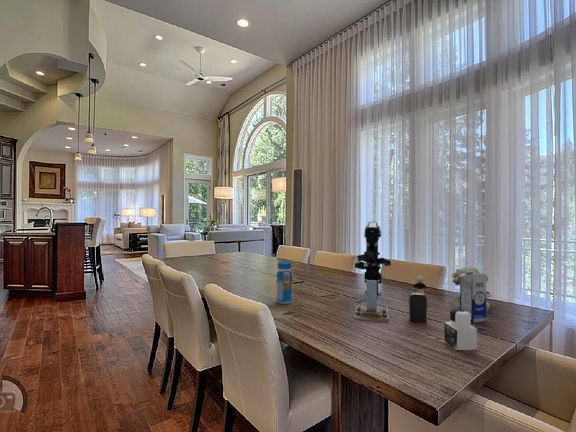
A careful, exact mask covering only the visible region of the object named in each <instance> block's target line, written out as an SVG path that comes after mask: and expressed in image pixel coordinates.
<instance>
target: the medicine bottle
mask: <svg viewBox="0 0 576 432" xmlns="http://www.w3.org/2000/svg"><path fill="white" fill-rule="evenodd" d="M449 315H450V316H449V317H450V318H449V321H444V329H443V330H444V334H443V335H444V340H443V341H444V343H445V342H446V343H445V344H446V345H448V346H449V345H450V347H451V348H452V347H453V348H452V349H453V350H455V351H456V350H463V351H477V350H476V349H478V328H476V327H475V326H473V325H471V324H472V323H471V314H470V313H469V312H468V311H466V310H462V309H460V308H454V309H451V310H450V312H449Z"/></svg>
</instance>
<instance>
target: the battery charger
mask: <svg viewBox="0 0 576 432" xmlns="http://www.w3.org/2000/svg"><path fill="white" fill-rule="evenodd" d="M424 294H425V293H424ZM424 294H422V293H416V292H411V293H410V294H408V311H409V315H408V316H409V317H408V319H409V322H413V323H414V322H417V323H427V322H428V321H427V318H428V316H427V311H428V298H427V296H426V294H425V295H424Z"/></svg>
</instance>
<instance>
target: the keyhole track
mask: <svg viewBox="0 0 576 432" xmlns="http://www.w3.org/2000/svg"><path fill="white" fill-rule="evenodd" d="M355 306H356V307H355V310H354V315H353V319H354V320H363V321H373V322H385V323H390V319H389V310H388V307H383V306H377V312H372V311H366V305H358V304H357V305H355Z"/></svg>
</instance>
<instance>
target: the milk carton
mask: <svg viewBox="0 0 576 432" xmlns="http://www.w3.org/2000/svg"><path fill="white" fill-rule="evenodd" d="M486 275H487V273H482V274H473V272H467V273H466V275H463V276H460V285H459V297H460V308H459V309H462V310H466V311H468V312H469V313H470V314H471V324H477V323H478V324H479V323H486V322H487V311H486V302H487V298H486V291H487V282H486Z"/></svg>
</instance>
